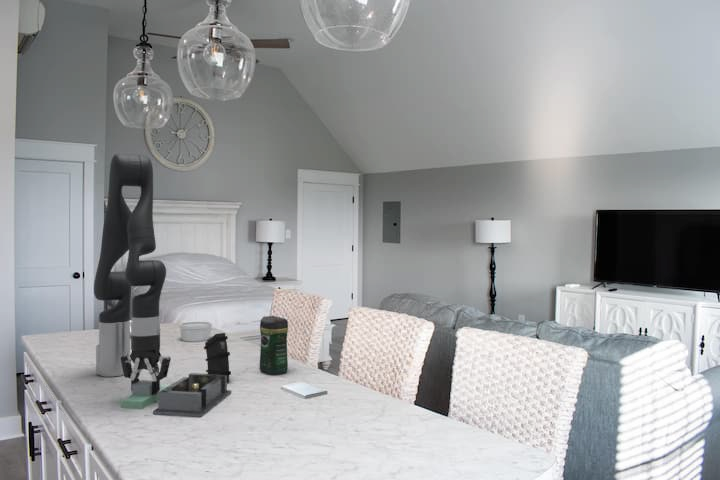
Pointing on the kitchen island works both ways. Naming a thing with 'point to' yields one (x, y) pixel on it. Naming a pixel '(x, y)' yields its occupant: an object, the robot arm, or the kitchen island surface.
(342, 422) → the kitchen island surface
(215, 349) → the magazine
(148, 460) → the kitchen island surface
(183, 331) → the ramekin
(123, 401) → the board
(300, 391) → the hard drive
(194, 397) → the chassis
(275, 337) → the coffee jar
